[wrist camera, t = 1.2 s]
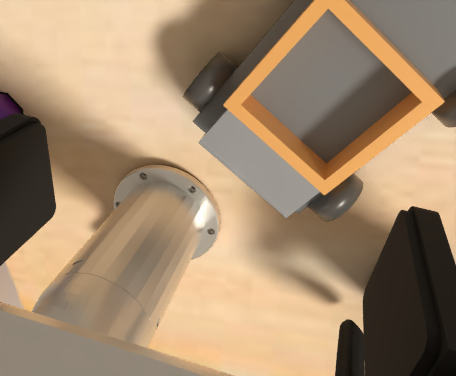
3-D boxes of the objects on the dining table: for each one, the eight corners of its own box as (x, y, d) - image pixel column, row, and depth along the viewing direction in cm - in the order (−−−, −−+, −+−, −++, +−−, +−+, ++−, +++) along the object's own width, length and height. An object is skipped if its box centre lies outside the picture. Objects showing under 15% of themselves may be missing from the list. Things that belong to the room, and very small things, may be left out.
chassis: (315, 206, 42) (311, 246, 36) (188, 94, 39) (162, 118, 33) (507, 59, 31) (541, 84, 25) (350, -111, 28) (350, -124, 23)
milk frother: (413, 234, 40) (441, 361, 28) (537, 315, 42) (616, 472, 29) (325, 307, 48) (317, 432, 36) (431, 374, 49) (458, 517, 37)
